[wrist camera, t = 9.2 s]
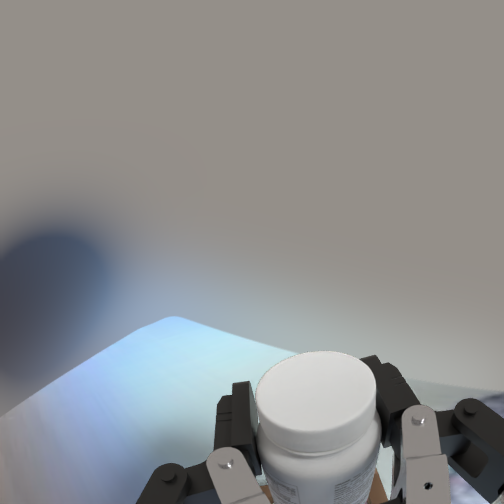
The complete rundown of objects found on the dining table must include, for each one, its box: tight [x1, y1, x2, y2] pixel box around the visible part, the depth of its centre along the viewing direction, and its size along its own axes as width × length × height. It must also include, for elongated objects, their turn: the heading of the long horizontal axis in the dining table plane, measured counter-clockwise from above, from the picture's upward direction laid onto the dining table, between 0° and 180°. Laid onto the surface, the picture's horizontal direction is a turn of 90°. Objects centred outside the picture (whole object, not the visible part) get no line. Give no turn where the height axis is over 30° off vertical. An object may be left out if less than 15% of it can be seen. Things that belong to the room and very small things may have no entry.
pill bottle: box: [255, 351, 382, 504], centre depth 10 cm, size 5×5×8 cm
